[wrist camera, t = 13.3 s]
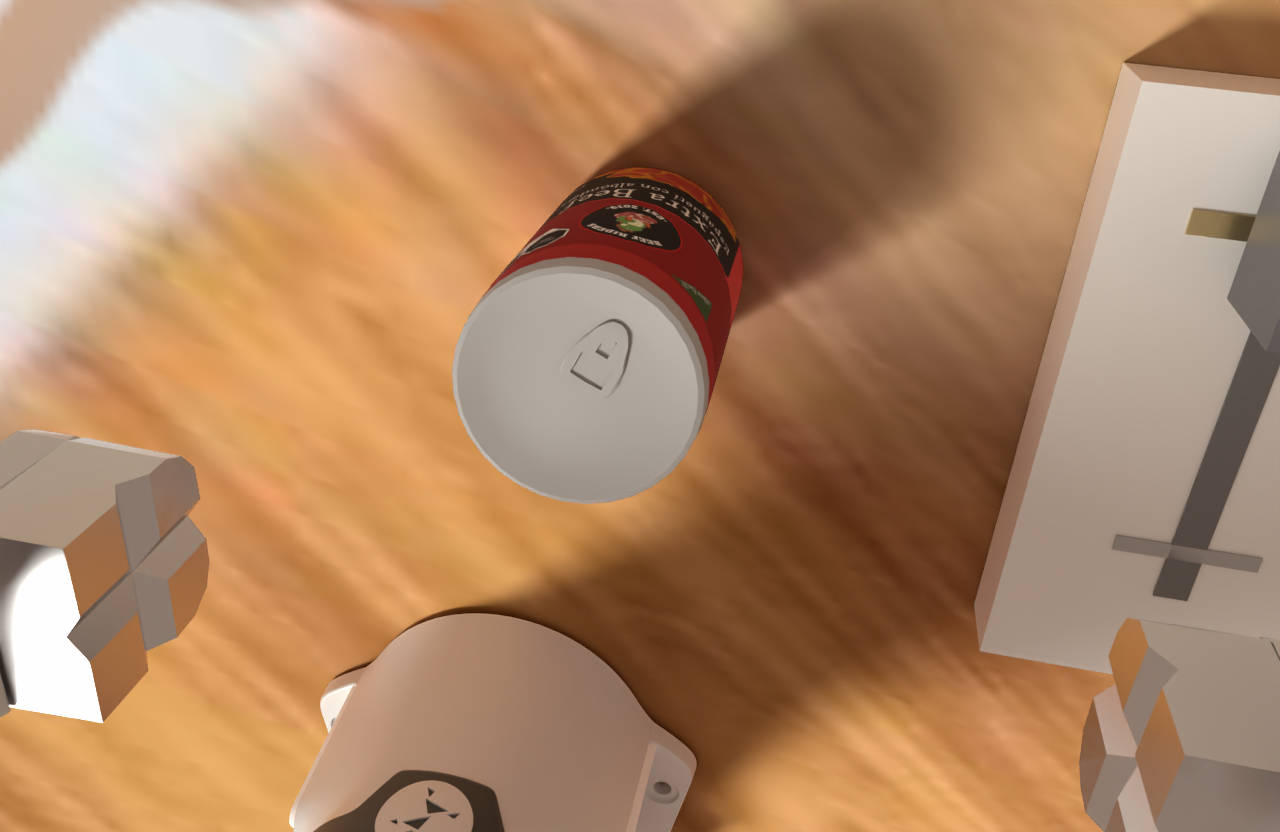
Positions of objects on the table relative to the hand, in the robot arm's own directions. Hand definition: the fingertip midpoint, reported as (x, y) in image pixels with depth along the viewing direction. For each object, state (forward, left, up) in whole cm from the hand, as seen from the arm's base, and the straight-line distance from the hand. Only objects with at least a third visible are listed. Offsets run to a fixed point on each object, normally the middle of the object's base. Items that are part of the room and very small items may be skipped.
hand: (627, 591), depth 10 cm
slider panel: (-11, -16, -31) cm, 37 cm away
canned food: (-9, +5, -31) cm, 33 cm away
